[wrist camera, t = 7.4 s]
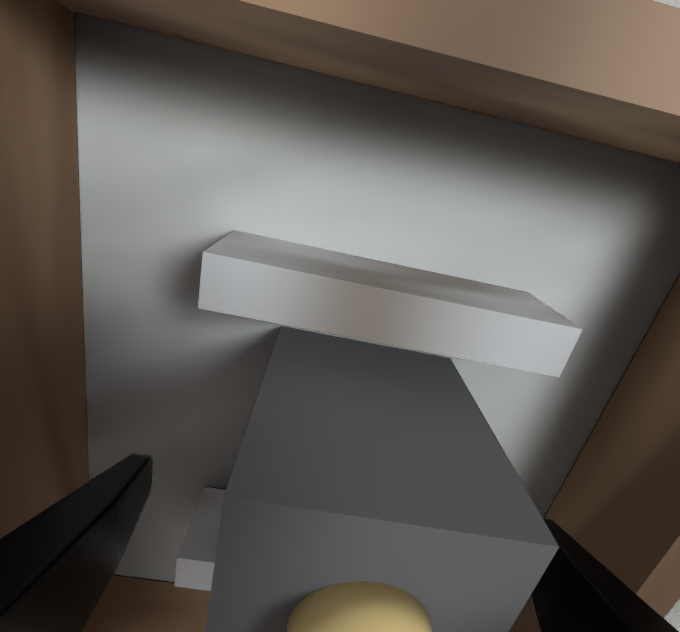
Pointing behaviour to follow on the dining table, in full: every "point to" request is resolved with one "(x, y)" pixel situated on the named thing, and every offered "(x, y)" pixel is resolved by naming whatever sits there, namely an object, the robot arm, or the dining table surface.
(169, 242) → the dining table surface
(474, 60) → the wooden serving tray
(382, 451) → the grey block
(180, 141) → the dining table surface
